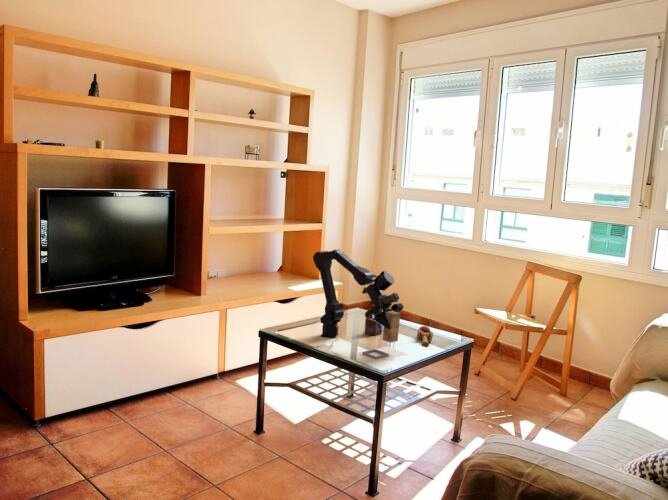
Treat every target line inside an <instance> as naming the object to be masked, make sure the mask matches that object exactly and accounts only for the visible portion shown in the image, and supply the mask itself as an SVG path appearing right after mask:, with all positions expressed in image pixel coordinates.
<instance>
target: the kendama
mask: <svg viewBox="0 0 668 500" xmlns="http://www.w3.org/2000/svg"><path fill="white" fill-rule="evenodd" d="M433 337H434V331H431V328H429V326H427V325H421V326H419V327H418V330H417V333H416V339H417V340H418V339H419V340H420V339H422V340H421V341H422V343H421V345H422V347H423V348H426V347H427V348H428V347H429V343H431V342H432V341H433ZM428 341H429V342H428Z"/></svg>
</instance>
